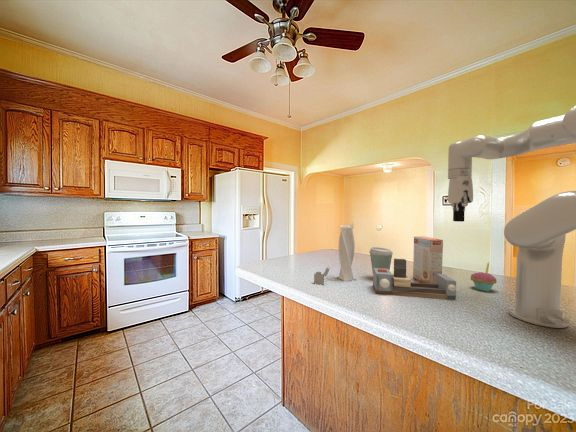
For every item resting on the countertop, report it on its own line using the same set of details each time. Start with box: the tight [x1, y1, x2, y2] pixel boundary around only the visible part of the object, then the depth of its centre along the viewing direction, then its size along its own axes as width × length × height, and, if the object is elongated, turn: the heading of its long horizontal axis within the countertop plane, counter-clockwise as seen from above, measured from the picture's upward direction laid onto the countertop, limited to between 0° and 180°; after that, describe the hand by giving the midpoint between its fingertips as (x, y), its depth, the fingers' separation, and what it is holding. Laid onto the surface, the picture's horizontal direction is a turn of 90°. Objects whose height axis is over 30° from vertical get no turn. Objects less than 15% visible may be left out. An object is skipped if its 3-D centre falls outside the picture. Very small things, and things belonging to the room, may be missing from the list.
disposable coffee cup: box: [368, 246, 393, 272], centre depth 115 cm, size 11×11×15 cm
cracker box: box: [412, 236, 444, 284], centre depth 109 cm, size 14×6×21 cm, turn 179°
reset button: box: [378, 268, 387, 272], centre depth 99 cm, size 3×3×4 cm
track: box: [372, 282, 457, 301], centre depth 96 cm, size 10×28×3 cm, turn 78°
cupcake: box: [470, 261, 497, 292], centre depth 100 cm, size 9×8×12 cm
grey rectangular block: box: [436, 273, 457, 301], centre depth 93 cm, size 11×3×7 cm, turn 168°
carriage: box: [392, 258, 412, 287], centre depth 97 cm, size 8×6×10 cm
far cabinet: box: [372, 268, 394, 296], centre depth 98 cm, size 11×6×8 cm, turn 168°
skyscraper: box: [336, 222, 358, 282], centre depth 114 cm, size 8×8×28 cm
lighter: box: [313, 266, 331, 286], centre depth 107 cm, size 7×2×8 cm, turn 67°
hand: (458, 221), depth 93 cm, fingers closed
